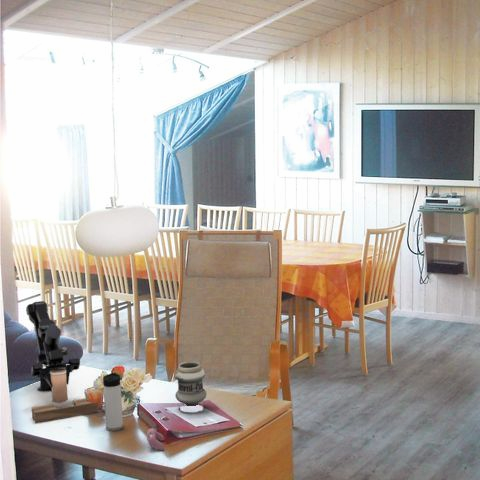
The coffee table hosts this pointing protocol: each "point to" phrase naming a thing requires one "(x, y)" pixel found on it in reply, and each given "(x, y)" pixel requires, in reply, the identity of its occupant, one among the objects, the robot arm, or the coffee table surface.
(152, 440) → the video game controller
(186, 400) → the apothecary jar
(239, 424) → the coffee table surface
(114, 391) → the travel mug
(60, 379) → the pink cylinder
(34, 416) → the bar
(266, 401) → the coffee table surface
